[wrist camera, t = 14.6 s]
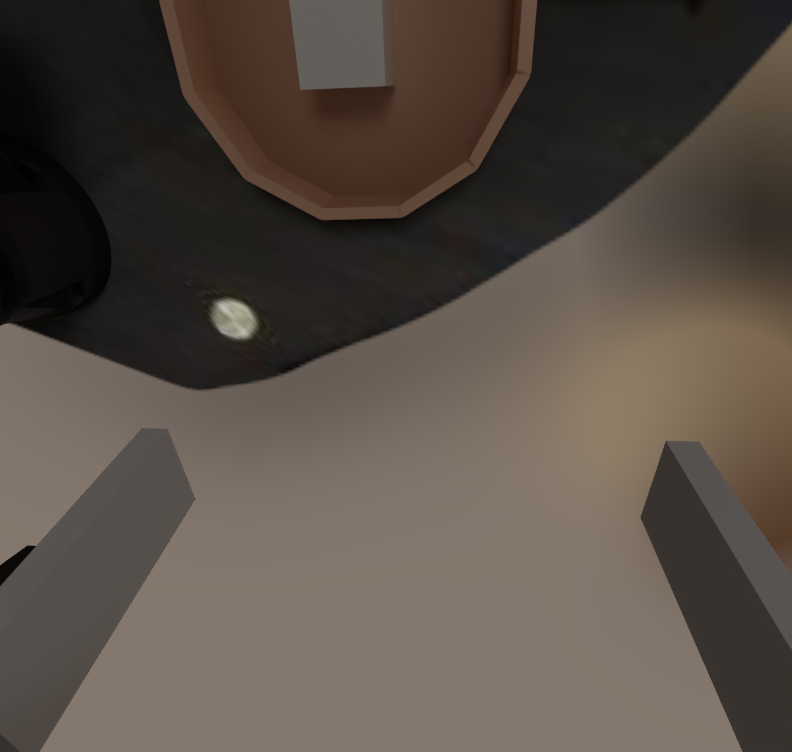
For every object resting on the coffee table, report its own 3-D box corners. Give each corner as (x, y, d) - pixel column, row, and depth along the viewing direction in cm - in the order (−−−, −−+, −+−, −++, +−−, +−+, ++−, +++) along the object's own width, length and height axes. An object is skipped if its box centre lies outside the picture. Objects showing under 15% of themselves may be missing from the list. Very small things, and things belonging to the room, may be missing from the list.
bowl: (241, 207, 38) (215, 223, 34) (155, -185, 27) (100, -235, 22) (510, 198, 36) (518, 214, 31) (543, -237, 24) (563, -304, 20)
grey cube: (323, 88, 32) (300, 90, 27) (312, -25, 29) (283, -48, 24) (395, 85, 32) (385, 86, 26) (392, -31, 28) (379, -55, 23)
